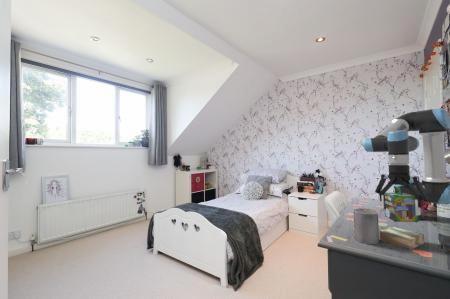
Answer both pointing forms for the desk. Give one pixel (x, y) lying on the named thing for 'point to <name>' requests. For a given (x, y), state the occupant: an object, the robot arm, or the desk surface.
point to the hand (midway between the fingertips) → (400, 211)
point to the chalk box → (400, 206)
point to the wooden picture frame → (402, 237)
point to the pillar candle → (366, 226)
